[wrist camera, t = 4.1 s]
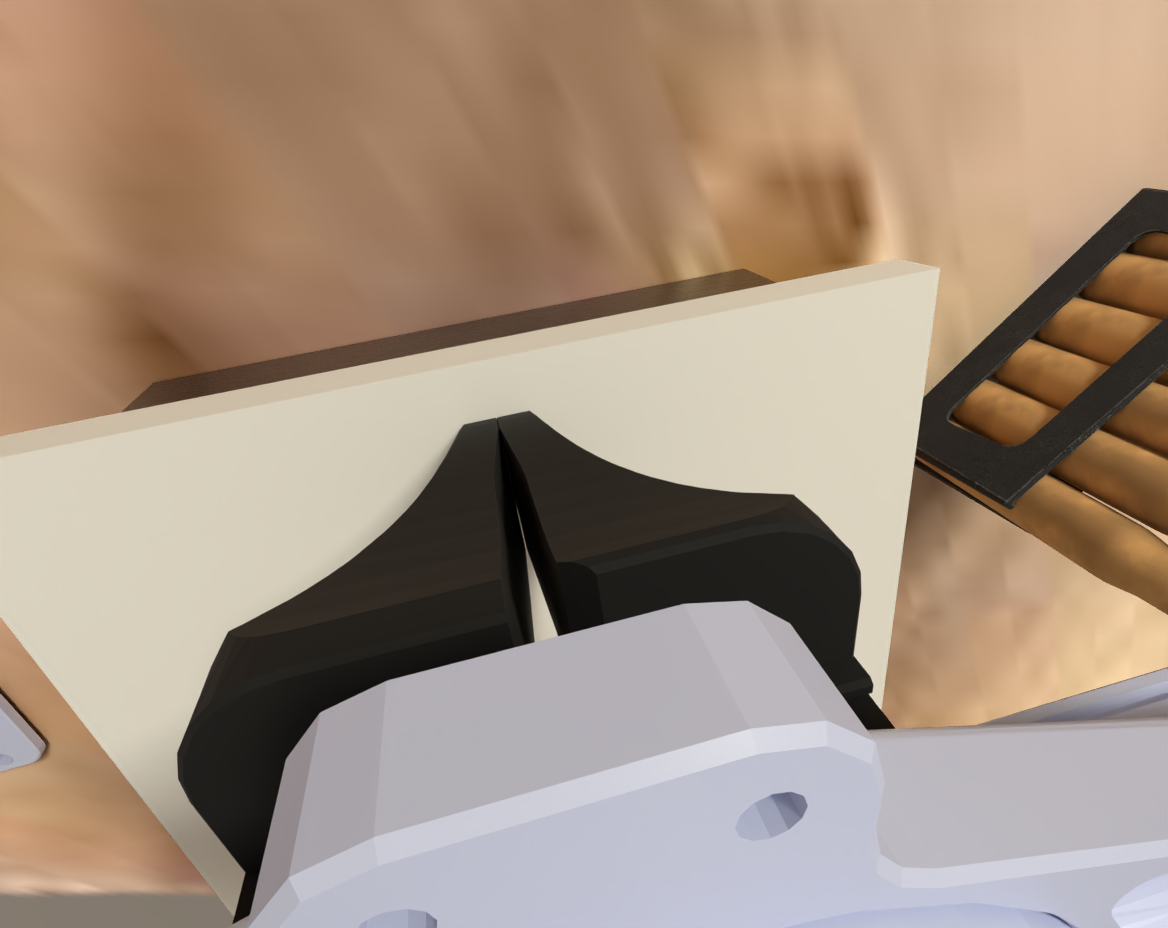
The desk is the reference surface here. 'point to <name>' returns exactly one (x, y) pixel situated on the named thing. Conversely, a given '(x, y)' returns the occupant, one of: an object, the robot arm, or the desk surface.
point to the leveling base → (442, 338)
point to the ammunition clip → (1073, 407)
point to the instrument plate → (409, 461)
